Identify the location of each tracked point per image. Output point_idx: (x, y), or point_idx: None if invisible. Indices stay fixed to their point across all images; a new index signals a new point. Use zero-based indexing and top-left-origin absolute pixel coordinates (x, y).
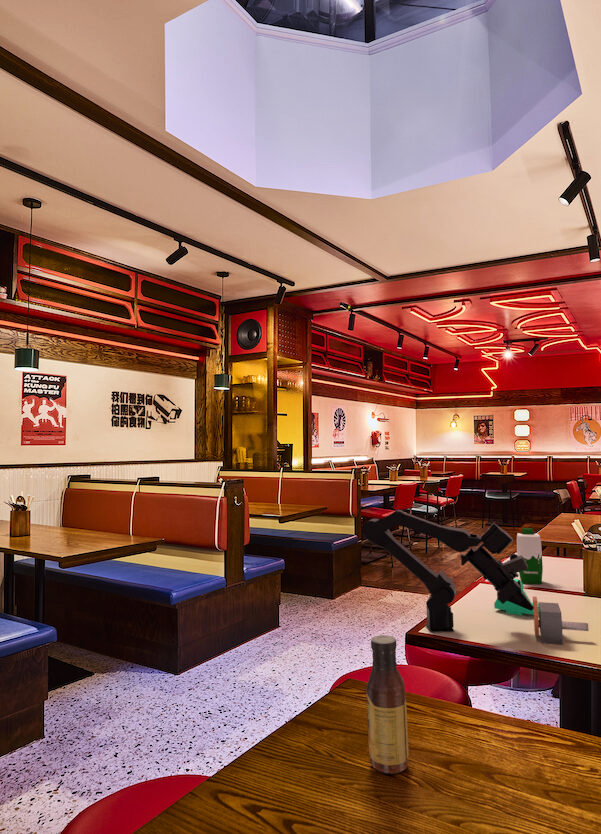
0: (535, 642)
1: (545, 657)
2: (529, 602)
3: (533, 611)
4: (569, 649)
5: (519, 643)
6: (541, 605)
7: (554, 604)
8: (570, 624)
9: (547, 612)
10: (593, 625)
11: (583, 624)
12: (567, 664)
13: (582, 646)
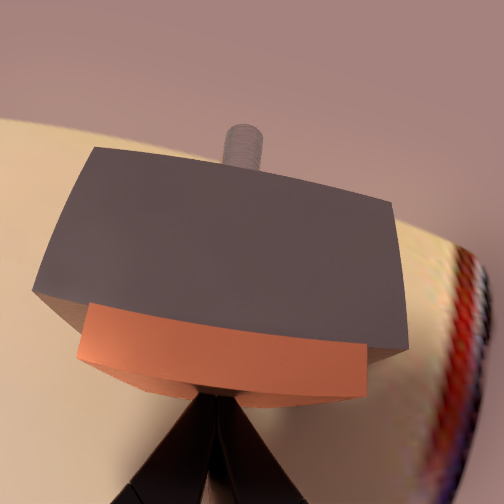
0: (305, 413)
1: (464, 378)
2: (261, 444)
3: (159, 388)
4: None
5: (336, 485)
6: (173, 297)
7: (130, 175)
8: None
9: (401, 294)
10: (46, 125)
11: (257, 143)
12: (488, 316)
13: None
